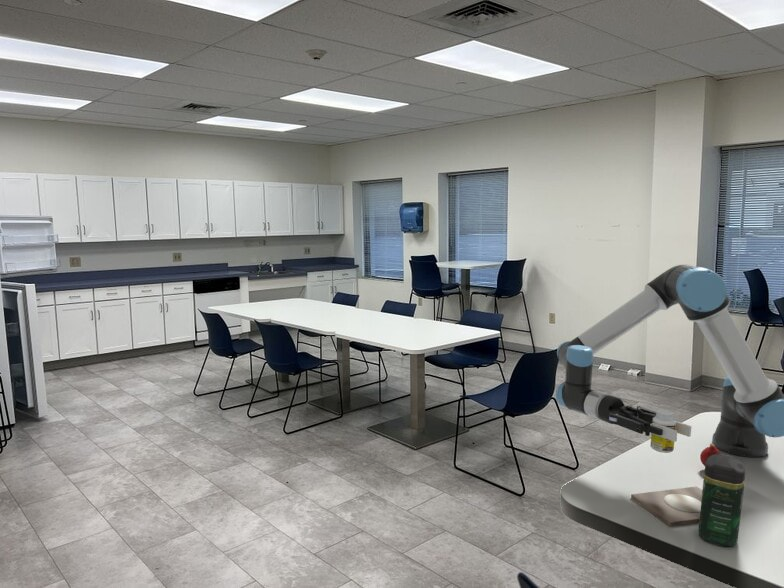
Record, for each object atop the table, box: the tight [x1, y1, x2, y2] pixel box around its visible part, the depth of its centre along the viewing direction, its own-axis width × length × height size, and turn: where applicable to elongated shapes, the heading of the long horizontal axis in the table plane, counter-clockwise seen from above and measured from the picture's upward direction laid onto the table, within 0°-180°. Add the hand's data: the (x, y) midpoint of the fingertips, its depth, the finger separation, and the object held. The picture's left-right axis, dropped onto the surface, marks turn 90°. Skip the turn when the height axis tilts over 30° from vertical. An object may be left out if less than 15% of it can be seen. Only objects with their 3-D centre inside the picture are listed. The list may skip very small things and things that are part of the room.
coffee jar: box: [698, 453, 746, 547], centre depth 128 cm, size 10×8×19 cm
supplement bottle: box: [650, 409, 677, 454], centre depth 148 cm, size 6×6×10 cm
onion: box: [699, 443, 723, 467], centre depth 163 cm, size 6×6×8 cm
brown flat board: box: [630, 486, 703, 527], centre depth 143 cm, size 20×14×1 cm
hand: (683, 433), depth 143 cm, fingers closed on supplement bottle, 6 cm apart
